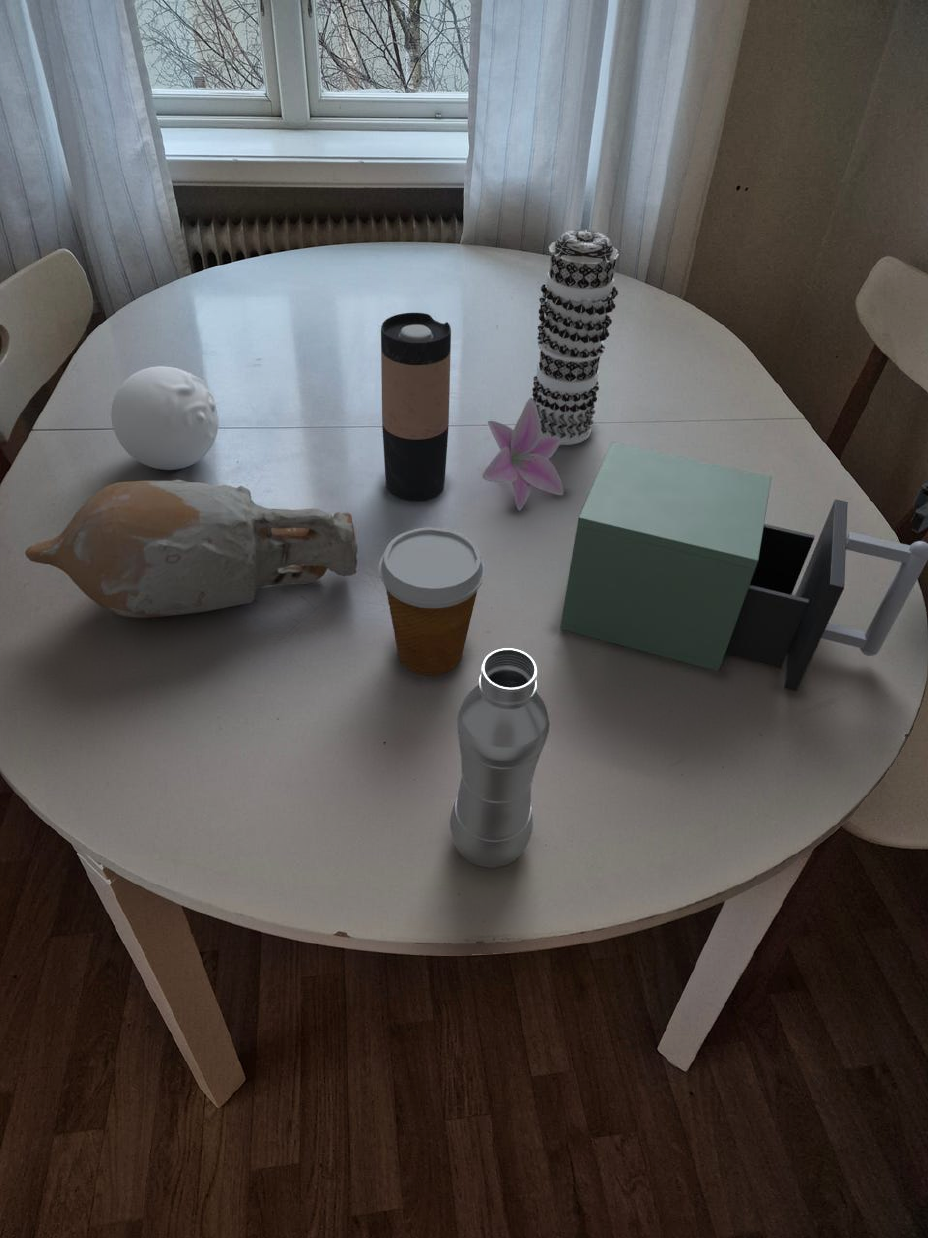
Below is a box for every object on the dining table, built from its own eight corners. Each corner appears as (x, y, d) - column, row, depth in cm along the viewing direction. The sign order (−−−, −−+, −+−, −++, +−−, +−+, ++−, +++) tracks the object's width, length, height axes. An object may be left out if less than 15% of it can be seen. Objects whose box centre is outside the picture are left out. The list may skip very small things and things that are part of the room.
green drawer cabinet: (734, 584, 94) (771, 476, 84) (718, 671, 84) (758, 560, 74) (591, 549, 97) (611, 441, 87) (559, 629, 87) (578, 517, 78)
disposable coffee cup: (388, 694, 80) (386, 597, 72) (375, 624, 87) (372, 528, 78) (488, 682, 81) (497, 586, 73) (468, 614, 88) (474, 519, 80)
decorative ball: (198, 496, 101) (180, 405, 93) (105, 479, 103) (78, 388, 94) (241, 444, 109) (227, 356, 101) (154, 429, 111) (133, 342, 103)
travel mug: (384, 503, 102) (380, 343, 88) (383, 467, 107) (379, 311, 93) (448, 502, 102) (454, 343, 89) (444, 466, 108) (449, 311, 94)
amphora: (11, 472, 81) (323, 404, 82) (89, 574, 94) (357, 514, 95) (-6, 586, 73) (339, 509, 74) (82, 680, 86) (374, 614, 87)
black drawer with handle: (872, 620, 90) (931, 503, 80) (871, 711, 81) (938, 593, 71) (664, 568, 95) (695, 452, 85) (641, 649, 86) (672, 530, 75)
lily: (462, 518, 102) (500, 474, 94) (450, 436, 106) (485, 388, 99) (549, 530, 107) (591, 489, 99) (534, 451, 112) (573, 406, 104)
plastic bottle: (439, 868, 67) (447, 696, 53) (460, 797, 72) (472, 624, 58) (520, 887, 66) (550, 718, 52) (536, 815, 71) (566, 642, 57)
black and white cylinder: (592, 450, 112) (625, 255, 95) (521, 441, 113) (542, 246, 96) (596, 416, 119) (628, 227, 102) (530, 407, 120) (550, 219, 103)
